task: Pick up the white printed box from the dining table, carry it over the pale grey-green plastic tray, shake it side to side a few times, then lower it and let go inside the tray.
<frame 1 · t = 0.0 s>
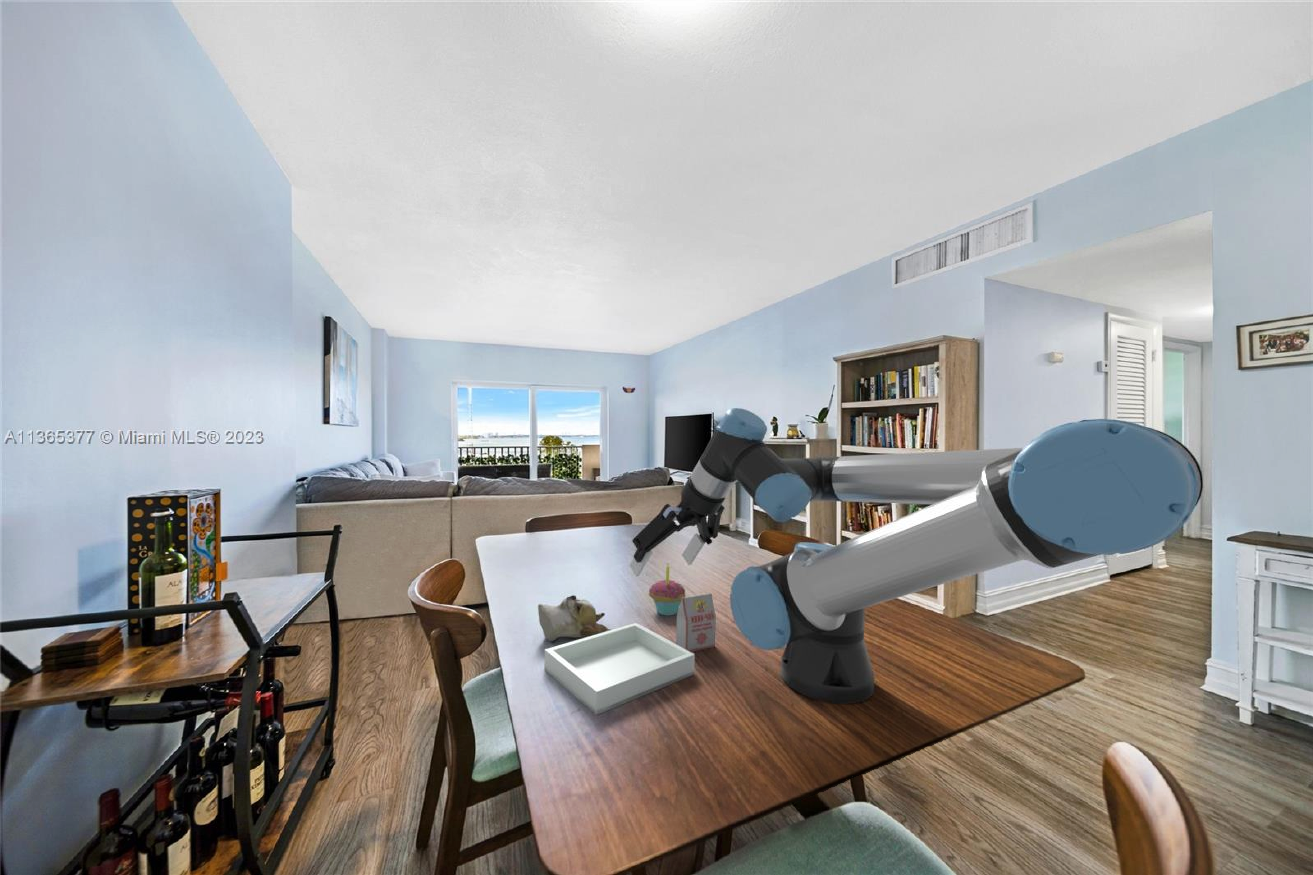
hand: (661, 565, 97), 15 cm above the table, fingers open, 13 cm apart
cupcake: (666, 612, 113), on the table
ceramic sculpture: (574, 637, 98), on the table
white printed box: (695, 646, 95), on the table
tray: (619, 671, 84), on the table
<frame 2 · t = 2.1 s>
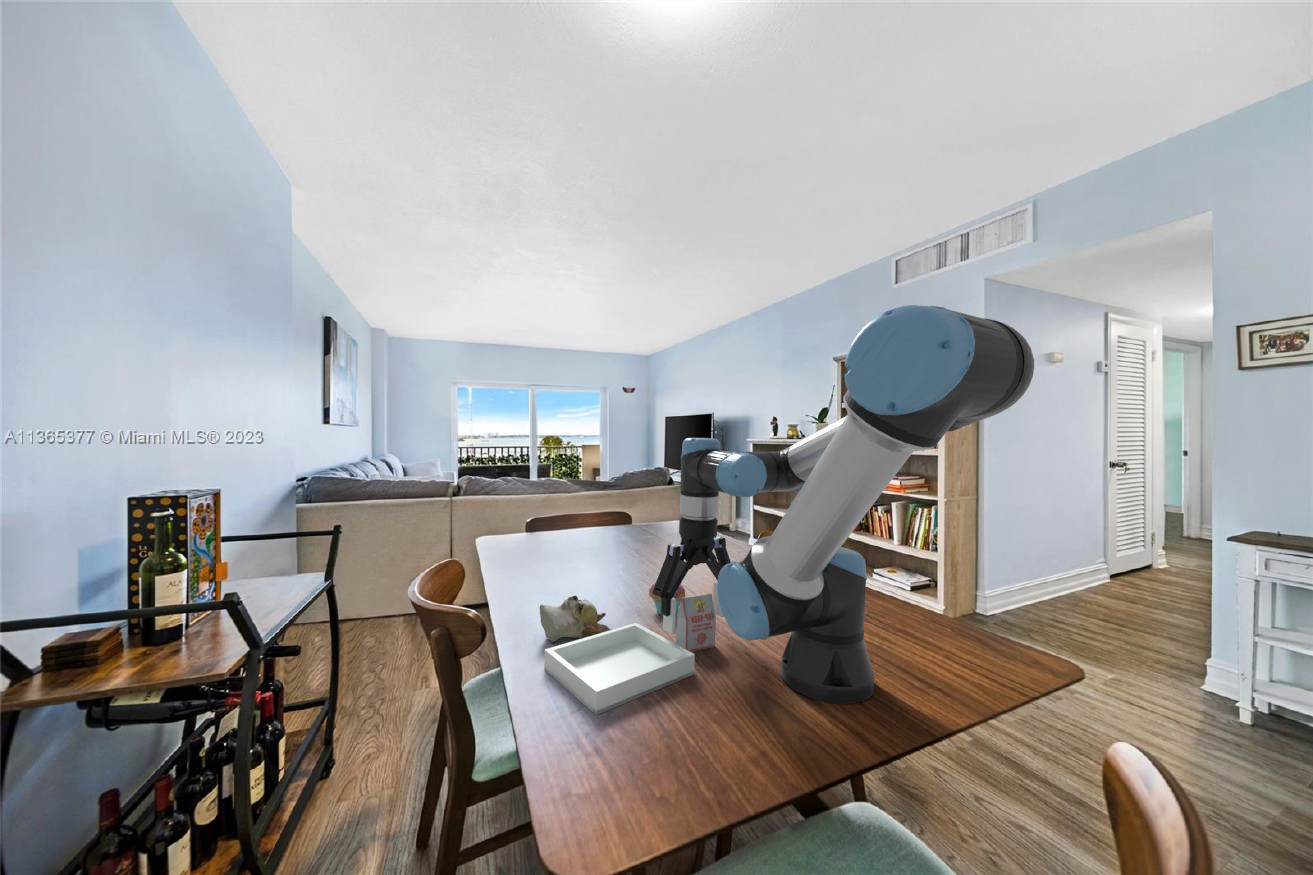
hand: (694, 622, 96), 4 cm above the table, fingers open, 13 cm apart
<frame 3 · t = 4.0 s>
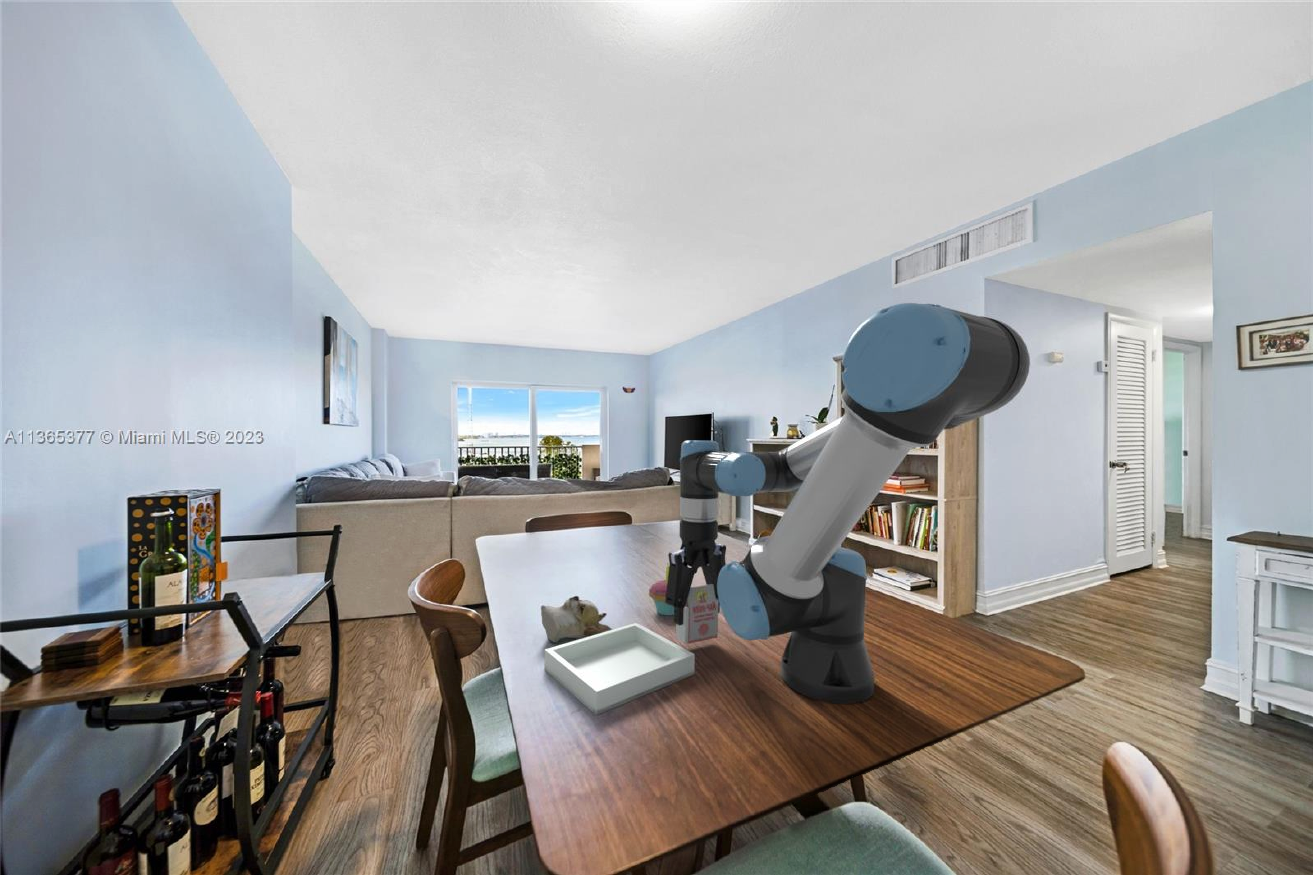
hand: (697, 635, 95), 2 cm above the table, fingers closed on white printed box, 7 cm apart
white printed box: (697, 638, 95), point 2 cm above the table, touching gripper
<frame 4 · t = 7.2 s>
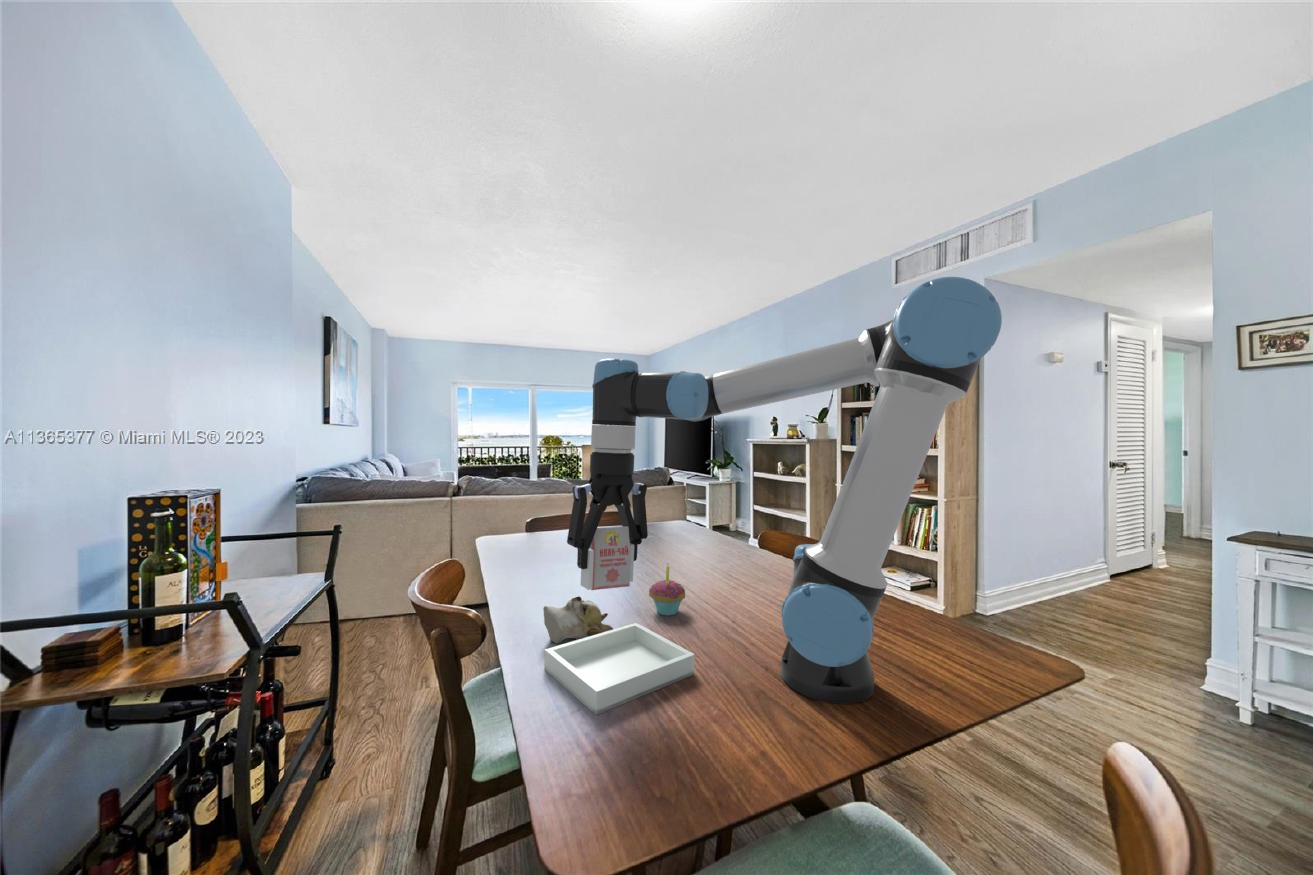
hand: (607, 583, 83), 16 cm above the table, fingers closed on white printed box, 7 cm apart
white printed box: (607, 586, 83), point 15 cm above the table, touching gripper
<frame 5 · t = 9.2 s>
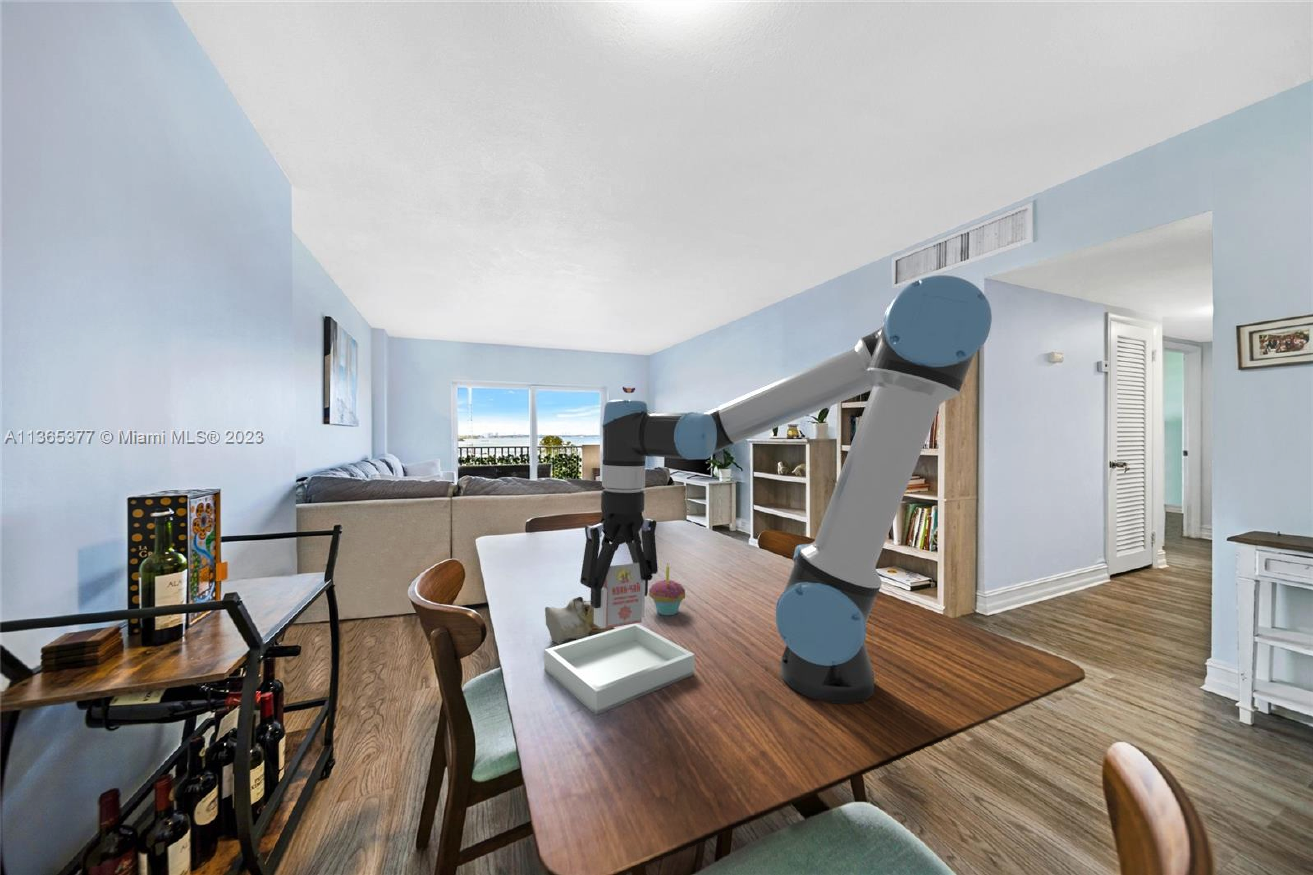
hand: (619, 619, 84), 9 cm above the table, fingers closed on white printed box, 7 cm apart
white printed box: (619, 622, 84), point 9 cm above the table, touching gripper
when the fingers open (3 cm above the table, at t = 10.7 s): white printed box drops 2 cm, resting on tray.
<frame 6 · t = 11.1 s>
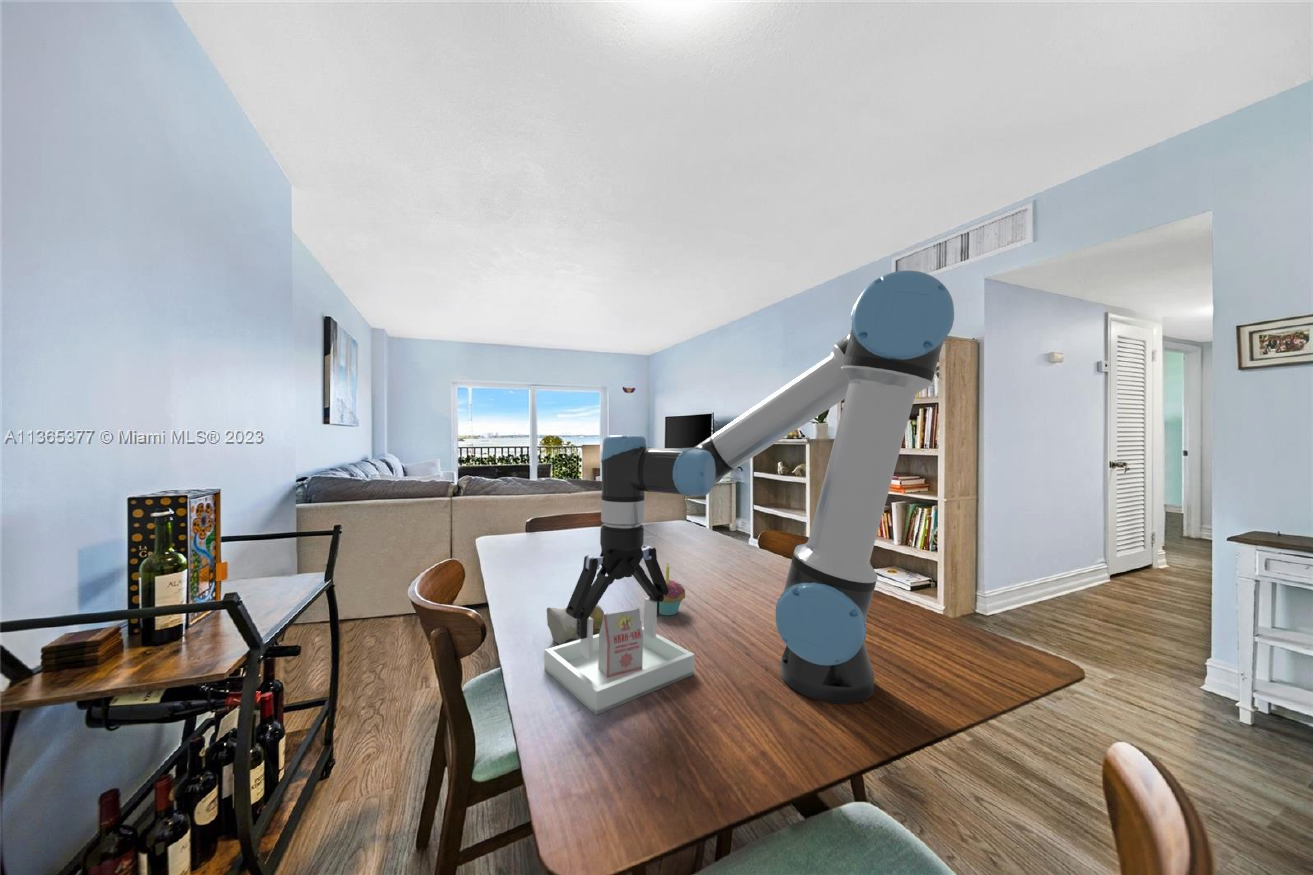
hand: (619, 645, 84), 5 cm above the table, fingers open, 13 cm apart
white printed box: (620, 669, 84), resting on tray
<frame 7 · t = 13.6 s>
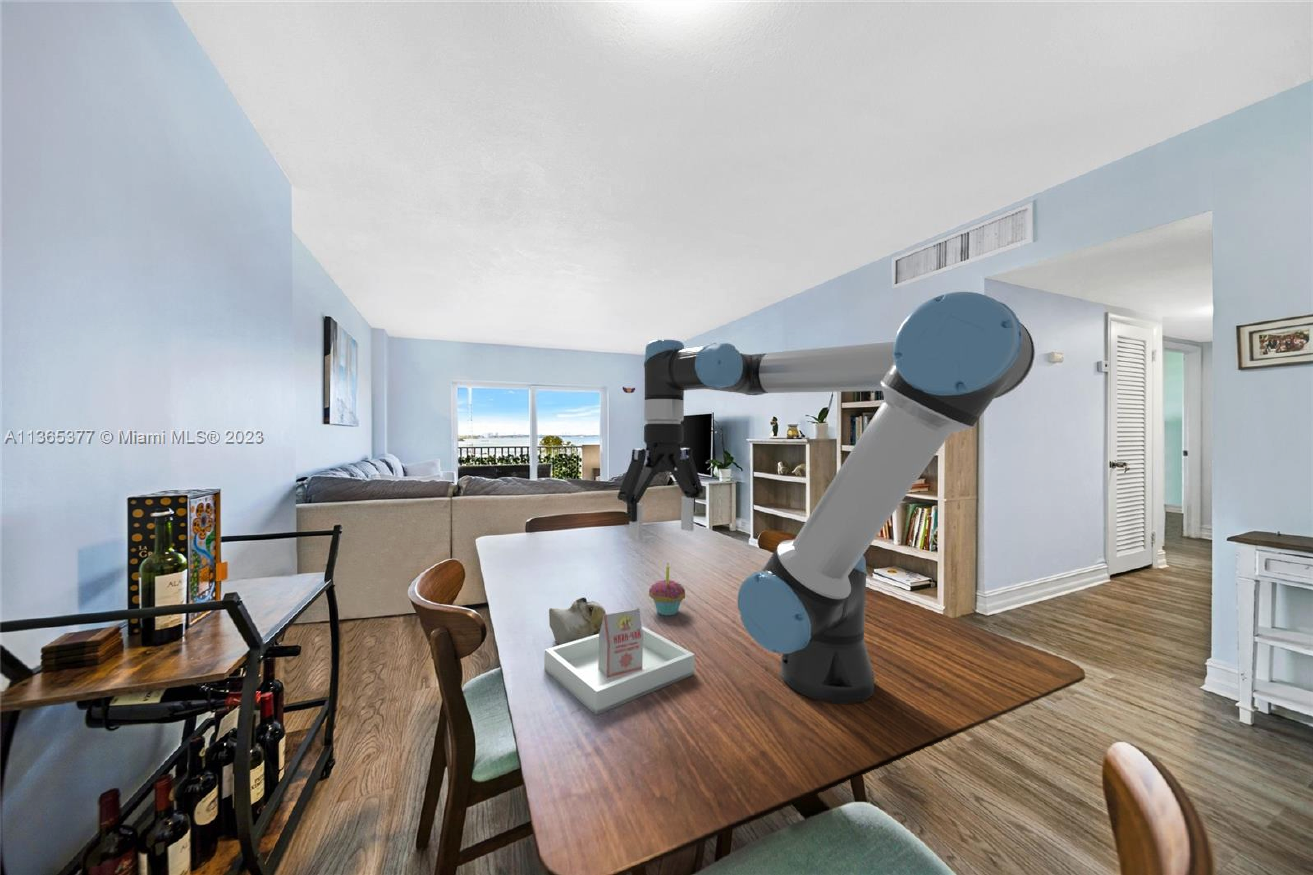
hand: (662, 534, 92), 22 cm above the table, fingers open, 13 cm apart
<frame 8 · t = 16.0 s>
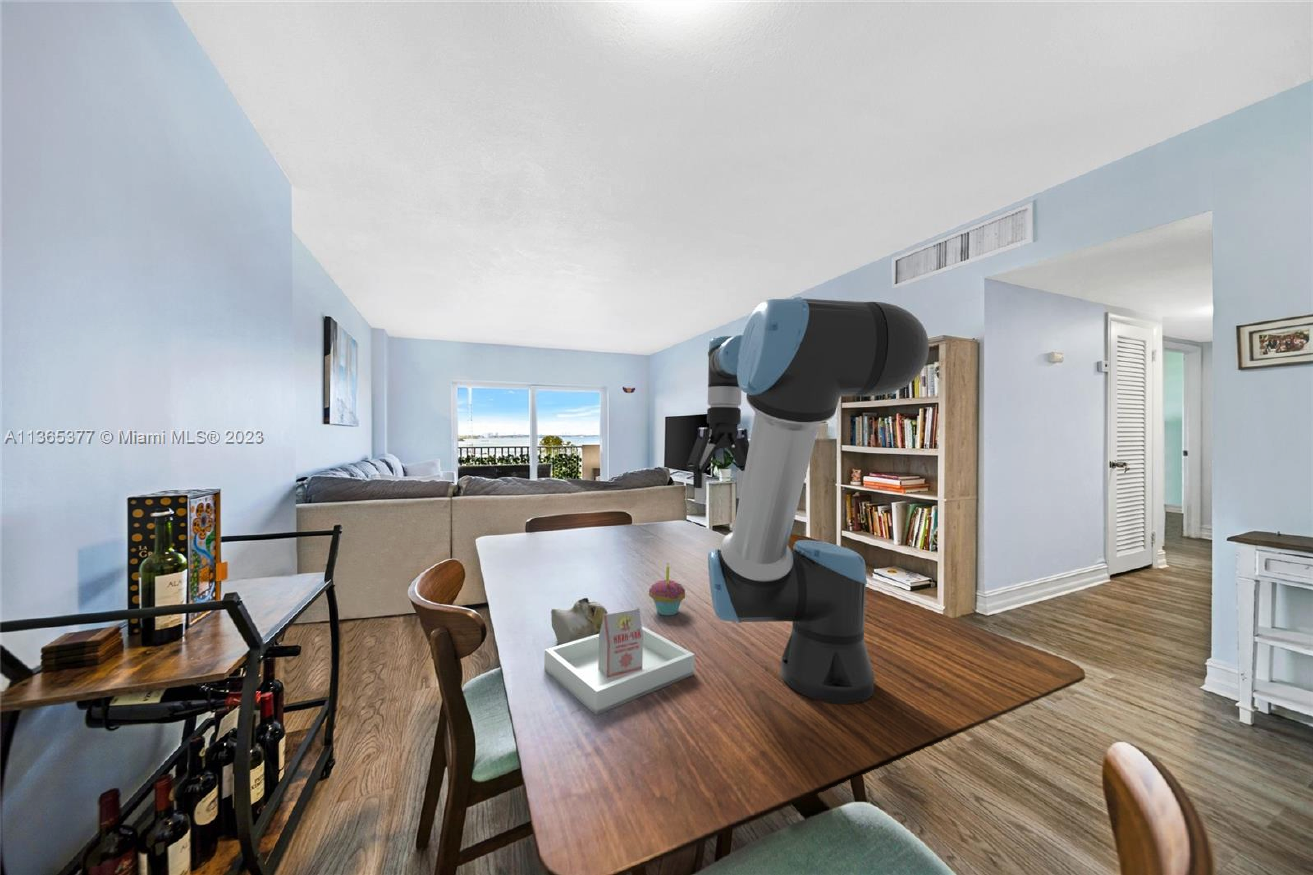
hand: (721, 500, 109), 27 cm above the table, fingers open, 13 cm apart
at the end: white printed box inside the target area on the tray (0.2 cm from its centre), point 0.4 cm above the tray's base; the gripper is holding nothing; white printed box touching tray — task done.
